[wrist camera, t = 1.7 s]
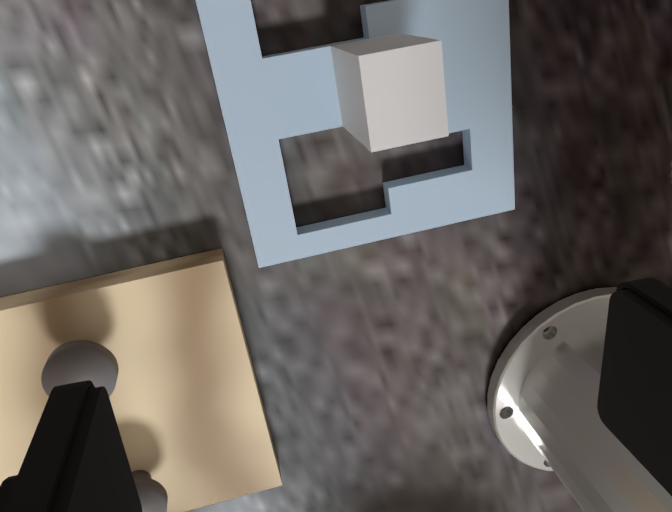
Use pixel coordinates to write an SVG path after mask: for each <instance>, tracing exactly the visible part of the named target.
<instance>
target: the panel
mask: <svg viewBox="0 0 672 512" xmlns="http://www.w3.org/2000/svg"><path fill="white" fill-rule="evenodd" d="M196 4H197V8H198V12H199V17H200V21H201V25H202V29H203V33H204V38H205V42H206V46H207V50H208V55H209V59H210V63H211V67H212V71H213V76H214V80H215V84H216V88H217V93H218V97H219V101H220V105H221V109H222V114H223V118H224V122H225V126H226V131H227V135H228V139H229V143H230V147H231V152H232V156H233V160H234V164H235V169H236V173H237V177H238V181H239V185H240V190H241V194H242V198H243V202H244V207H245V211H246V215H247V219H248V223H249V228H250V232H251V236H252V240H253V245H254V249H255V253H256V257H257V261H258V266H259V268H261V267H265V266H270V265H274V264H278V263H283V262H287V261H291V260H296V259H300V258H304V257H309V256H313V255H317V254H322V253H326V252H331V251H335V250H339V249H344V248H348V247H352V246H357V245H361V244H365V243H370V242H374V241H379V240H383V239H387V238H392V237H396V236H400V235H405V234H409V233H413V232H418V231H422V230H426V229H431V228H435V227H440V226H444V225H448V224H453V223H457V222H461V221H466V220H470V219H474V218H479V217H483V216H487V215H492V214H496V213H501V212H505V211H509V210H514V209H515V195H514V161H513V127H512V94H511V60H510V27H509V0H387V1H382V2H376V3H370V4H365V5H360V12H361V19H362V27H363V35H364V37H363V38H358V39H352V40H347V41H342V42H336V43H331V44H326V45H320V46H315V47H310V48H304V49H299V50H293V51H288V52H283V53H277V54H272V55H267V56H262V55H261V50H260V45H259V40H258V35H257V30H256V25H255V20H254V15H253V10H252V5H251V0H196ZM341 126H343V127H344V128H345V129H346V130H347V131H348V132H350V133H351V134H352V135H353V136H354V137H355V138H356V139H357V140H358V141H359V142H361V143H362V144H363V145H364V146H365V147H366V148H367V149H368V150H369V151H370V152H375V151H380V150H385V149H389V148H394V147H399V146H404V145H408V144H413V143H418V142H423V141H427V140H432V139H437V138H442V137H446V136H449V133H452V132H457V131H462V139H463V154H464V165H461V166H456V167H452V168H447V169H443V170H438V171H433V172H429V173H424V174H420V175H415V176H411V177H406V178H401V179H397V180H392V181H388V182H383V190H384V198H385V206H386V208H381V209H377V210H372V211H368V212H363V213H359V214H354V215H350V216H345V217H341V218H336V219H332V220H327V221H323V222H319V223H314V224H310V225H305V226H301V227H296V224H295V219H294V214H293V209H292V204H291V199H290V194H289V189H288V184H287V179H286V174H285V169H284V164H283V159H282V154H281V150H280V145H279V140H278V139H283V138H288V137H292V136H297V135H302V134H307V133H312V132H317V131H322V130H327V129H332V128H337V127H341Z"/></svg>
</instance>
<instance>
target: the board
mask: <svg viewBox="0 0 672 512" xmlns="http://www.w3.org/2000/svg"><path fill="white" fill-rule="evenodd" d="M86 380H90V381H92V383H93V384H94V386H95V388H96V387H101V386H104V387H105V388H106V390H107V392H108V395H109V398H110V402H111V405H112V408H113V412H114V415H115V418H116V422H117V425H118V428H119V432H120V435H121V438H122V442H123V445H124V448H125V452H126V455H127V458H128V462H129V465H130V468H131V472H132V475H133V478H134V482H135V485H136V488H137V492H138V495H139V498H140V502H141V506H142V512H186V511H190V510H193V509H197V508H200V507H204V506H208V505H211V504H215V503H219V502H222V501H226V500H230V499H233V498H237V497H240V496H244V495H248V494H251V493H255V492H259V491H262V490H266V489H270V488H273V487H277V486H280V485H282V480H281V474H280V467H279V463H278V459H277V455H276V452H275V448H274V444H273V440H272V436H271V432H270V429H269V425H268V421H267V417H266V413H265V410H264V406H263V402H262V398H261V394H260V391H259V387H258V383H257V379H256V375H255V371H254V368H253V364H252V360H251V356H250V352H249V349H248V345H247V341H246V337H245V333H244V330H243V326H242V322H241V318H240V314H239V310H238V307H237V303H236V299H235V295H234V291H233V288H232V284H231V280H230V276H229V272H228V268H227V265H226V261H225V257H224V253H223V249H222V248H220V249H215V250H211V251H206V252H202V253H198V254H193V255H189V256H184V257H180V258H175V259H171V260H166V261H162V262H157V263H153V264H148V265H144V266H139V267H135V268H130V269H126V270H122V271H117V272H113V273H108V274H104V275H99V276H95V277H90V278H86V279H81V280H77V281H72V282H68V283H63V284H59V285H54V286H50V287H46V288H41V289H37V290H32V291H28V292H23V293H19V294H14V295H10V296H5V297H1V298H0V485H1V484H2V482H3V481H4V480H5V479H6V478H8V477H10V476H15V475H18V473H19V470H20V468H21V465H22V463H23V460H24V458H25V455H26V453H27V450H28V448H29V445H30V443H31V440H32V438H33V435H34V433H35V430H36V428H37V425H38V423H39V420H40V418H41V415H42V413H43V410H44V408H45V405H46V403H47V400H48V398H49V395H50V393H51V390H52V389H53V387H55V386H59V385H64V384H70V383H75V382H81V381H86Z"/></svg>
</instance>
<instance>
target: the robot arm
mask: <svg viewBox="0 0 672 512" xmlns="http://www.w3.org/2000/svg"><path fill="white" fill-rule="evenodd" d="M487 411H488V415H489V419H490V423H491V426H492V428H493V430H494V432H495V434H496V436H497V437H498V439H499V440H500V442H501V443H502V444H503V446H504V447H505V448H506V450H507V451H508V452H509V453H510V454H511V455H512V456H514V457H515V458H516V459H517V460H519V461H520V462H522V463H524V464H526V465H529V466H531V467H533V468H537V469H541V470H546V471H554V472H555V473H556V475H557V476H558V477H559V479H560V480H561V481H562V483H563V484H564V485H565V487H566V488H567V489H568V491H569V492H570V494H571V495H572V496H573V498H574V499H575V500H576V502H577V503H578V504H579V506H580V507H581V508H582V510H583V511H584V512H672V289H671V288H669V287H668V286H666V285H665V284H663V283H661V282H660V281H658V280H656V279H654V278H645V279H640V280H634V281H629V282H624V283H621V284H620V285H619V286H618V287H608V288H595V289H591V290H587V291H583V292H579V293H576V294H574V295H571V296H569V297H567V298H564V299H562V300H560V301H557V302H556V303H554V304H553V305H551V306H549V307H548V308H546V309H545V310H543V311H541V312H540V313H539V314H537V315H536V316H535V317H534V318H533V319H531V320H530V321H529V322H528V323H527V324H526V325H524V326H523V327H522V328H521V330H520V331H519V332H518V333H517V334H516V335H515V336H514V338H513V339H512V340H511V341H510V342H509V343H508V345H507V347H506V348H505V350H504V351H503V353H502V355H501V356H500V358H499V359H498V361H497V364H496V366H495V369H494V371H493V373H492V376H491V379H490V384H489V389H488V394H487ZM0 512H142V506H141V502H140V498H139V495H138V492H137V488H136V485H135V482H134V478H133V475H132V472H131V468H130V465H129V462H128V458H127V455H126V452H125V448H124V445H123V442H122V438H121V435H120V432H119V428H118V425H117V422H116V418H115V415H114V412H113V408H112V405H111V402H110V398H109V395H108V392H107V390H106V388H105V387H104V386H101V387H96V388H95V386H94V384H93V383H92V381H90V380H86V381H81V382H75V383H70V384H64V385H59V386H55V387H53V389H52V390H51V393H50V395H49V398H48V400H47V403H46V405H45V408H44V410H43V413H42V415H41V418H40V420H39V423H38V425H37V428H36V430H35V433H34V435H33V438H32V440H31V443H30V445H29V448H28V450H27V453H26V455H25V458H24V460H23V463H22V465H21V468H20V470H19V473H18V475H15V476H10V477H8V478H6V479H5V480H4V481H3V482H2V484H1V485H0Z"/></svg>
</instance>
